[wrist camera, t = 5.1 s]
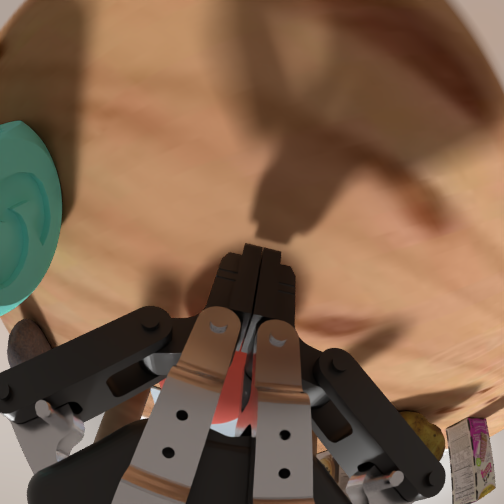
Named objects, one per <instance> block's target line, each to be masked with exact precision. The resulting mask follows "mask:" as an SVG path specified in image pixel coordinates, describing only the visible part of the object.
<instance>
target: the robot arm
mask: <svg viewBox="0 0 504 504" xmlns="http://www.w3.org/2000/svg"><path fill="white" fill-rule="evenodd" d="M261 253H262V254H261ZM280 262H281V252H280V251H276V250H272V249H268V248H263V251H262V247H259V246H255V245H251V244H247V243H245V246H244V250H243V254H242V255H240V254H235V253H231V252H229V253H228V254H227V255H226V256H225V257H223V258H222V260H221V263H220V266H219V269H218V272H217V275H216V278H215V281H214V284H213V287H212V290H211V293H210V296H209V299H208V302H207V305H206V307H205V308H204V310H203V311H202V312H201V313H199V314H198V315H196V316H193V317H189V318H171V317H170V316H169V314H168V313H167V312H166V311H165V310H163V309H161V308H159V307H155V306H146V307H142V308H139V309H137V310H135V311H133V312H131V313H129V314H127V315H124V316H122V317H120V318H118V319H116V320H114V321H112V322H109V323H107V324H105V325H103V326H101V327H99V328H96V329H94V330H92V331H90V332H88V333H86V334H84V335H81V336H79V337H77V338H75V339H73V340H71V341H68V342H66V343H64V344H62V345H60V346H58V347H55V348H53V349H51V350H49V351H47V352H45V353H42V354H40V355H38V356H36V357H34V358H32V359H29V360H27V361H25V362H23V363H21V364H18V365H16V366H14V367H12V368H10V369H8V370H5V371H3V372H1V373H0V413H1V414H2V415H4V416H5V417H7V418H8V419H9V420H10V422H11V424H12V426H13V429H14V432H15V434H16V436H17V439H18V441H19V444H20V446H21V448H22V451H23V453H24V455H25V457H26V459H27V461H28V463H29V465H30V467H31V469H32V471H33V473H34V476H33V477H32V478H31V480H30V482H29V485H28V489H27V500H28V504H412V503H413V502H414V501H418V500H422V499H426V498H430V497H433V496H435V495H437V494H438V493H439V492H440V491H441V489H442V488H443V486H444V483H445V470H444V468H443V466H442V465H441V463H440V462H439V461H438V460H437V458H436V457H435V456H434V455H433V453H432V452H431V451H430V450H429V449H428V447H427V446H426V445H425V444H424V442H423V441H422V440H421V439H420V438H419V436H418V435H417V434H416V433H415V431H414V430H413V429H412V428H411V427H410V425H409V424H408V423H407V422H406V421H405V419H404V418H403V417H402V416H401V414H400V413H399V412H398V411H397V410H396V408H395V407H394V406H393V405H392V404H391V402H390V401H389V400H388V399H387V398H386V396H385V395H384V394H383V393H382V392H381V390H380V389H379V388H378V387H377V386H376V384H375V383H374V382H373V381H372V380H371V378H370V377H369V376H368V375H367V374H366V372H365V371H364V370H363V369H362V368H361V366H360V365H359V364H358V363H357V362H356V361H355V359H354V358H353V357H352V356H351V355H350V354H349V353H348V352H346V351H345V350H342V349H339V348H330V349H327V350H325V351H324V352H321V351H319V350H317V349H315V348H313V347H311V346H309V345H307V344H306V343H304V342H303V341H302V340H301V339H300V338H299V336H298V333H297V331H296V330H295V274H294V272H293V270H292V268H291V267H290V266H286V265H282V264H280ZM242 341H243V343H242ZM241 344H242V348H241V352H244V353H247V356H246V362H245V365H244V367H243V371H242V381H241V393H240V405H239V415H238V420H237V424H236V430H235V437H229V436H226V435H224V434H221V433H219V432H217V431H215V430H213V429H211V428H210V427H211V423H212V420H213V417H214V414H215V410H216V407H217V404H218V401H219V398H220V394H221V391H222V388H223V385H224V381H225V378H226V375H227V371H228V368H229V367H230V366H231V364H232V361H233V358H234V355H235V351H239V350H240V347H241ZM165 378H166V380H165V382H164V384H163V387H162V389H161V391H160V394H159V396H158V398H157V401H156V403H155V405H154V408H153V410H152V412H151V415H150V417H149V418H147V419H141V420H137V421H134V422H131V423H129V424H127V425H125V426H123V427H121V428H120V429H118V430H116V431H114V432H113V433H111V434H109V435H107V436H106V437H104V438H102V439H100V440H99V441H97V442H95V443H93V444H91V445H90V446H88V447H86V448H84V449H82V450H80V451H78V452H76V453H74V454H73V455H70V456H69V454H70V451H71V450H72V448H73V447H74V446H75V445H76V444H78V443H79V442H80V441H81V440H82V438H83V436H84V432H85V427H84V422H85V421H88V420H90V419H92V418H94V417H95V416H98V415H99V414H101V413H103V412H105V411H107V410H109V409H111V408H113V407H115V406H117V405H119V404H121V403H123V402H124V401H126V400H128V399H130V398H132V397H134V396H135V395H137V394H139V393H141V392H143V391H144V390H146V389H148V388H150V387H152V386H153V385H155V384H157V383H159V382H160V381H162V380H164V379H165ZM312 430H313V432H314V433H315V434H316V436H317V437H318V438H319V439H320V441H321V442H322V443H323V445H324V446H325V447H326V449H327V450H328V451H329V452H330V454H331V455H332V456H333V458H334V459H335V460H336V461H337V463H338V464H339V465H340V466H341V468H342V469H343V470H344V471H345V473H346V474H347V475H348V476H349V478H350V479H349V481H348V484H347V487H346V493H347V494H348V496H349V498H350V499H351V501H350V500H349V499H348V497H347V496H346V495H345V494H344V492H343V491H342V490H341V488H340V487H339V486H338V484H337V483H336V482H335V480H334V479H333V477H332V476H331V475H330V473H329V472H328V471H327V469H326V468H325V466H324V465H323V464H322V463H321V461H320V460H319V459H318V458H317V457H316V456H314V455H313V454H312ZM351 502H352V503H351Z"/></svg>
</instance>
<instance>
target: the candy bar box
mask: <svg viewBox="0 0 504 504" xmlns="http://www.w3.org/2000/svg"><path fill="white" fill-rule="evenodd" d="M446 434H447V441H448V448H449V456H450V467H451V480H452V504H471V503H473V502H476V501H478V500H479V499H481V498H482V497H484V496H485V495H487V494H488V493H490V492H491V491H492V490H494V489H495V488H496V487H495V474H494V464H493V457H492V451H491V444H490V438H489V432H488V427H487V422H486V419H482V418H466V419H463V420H461V421H460V422H458V423H456V424H454V425H452V426H450V427H449V428H447V429H446Z"/></svg>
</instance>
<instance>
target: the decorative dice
mask: <svg viewBox="0 0 504 504" xmlns="http://www.w3.org/2000/svg"><path fill="white" fill-rule="evenodd" d="M61 219H62V196H61V188H60V182H59V178H58V174H57V171H56V168H55V165H54V162H53V160H52V157H51V155H50V153H49V151H48V149H47V148H46V146H45V144H44V143H43V141H42V140H41V139H40V137H39V136H38V135H37V134H36V133H35V132H34V131H33V130H32V129H31V128H30V127H29V126H28V125H26V124H25V123H24V122H22V121H13V122H8V123H5V124H1V125H0V316H1V315H4V314H6V313H7V312H9V311H11V310H12V309H14V308H15V307H17V306H18V305H19V304H21V303H22V302H23V301H24V300H25V299H26V298H27V297H28V296H29V295H30V294H31V293H32V292H33V291H34V290H35V289H36V288H37V286H38V285H39V283H40V282H41V280H42V279H43V277H44V275H45V274H46V272H47V270H48V268H49V266H50V263H51V261H52V259H53V256H54V253H55V250H56V247H57V243H58V239H59V234H60V228H61Z"/></svg>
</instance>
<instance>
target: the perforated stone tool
mask: <svg viewBox="0 0 504 504" xmlns="http://www.w3.org/2000/svg"><path fill="white" fill-rule="evenodd" d="M51 349H52V348H51V346H50V345H49V343H48V341H47V339H46V337H45V335H44V334H43V332H42V331H41V329H40V328H39V327H38V325H37V324H36V323H35V322H33V321H32V320H30V319H23V320H21V321H19V322H18V323H17V324H16V325H15V326H14V328H13V329H12V331H11V333H10V335H9V341H8V350H7V354H8V361H9V364H10V367H11V368H12V367H14V366H16V365H18V364H21V363H23V362H25V361H27V360H29V359H32V358H34V357H36V356H38V355H40V354H42V353H45V352H47V351H49V350H51Z"/></svg>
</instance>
